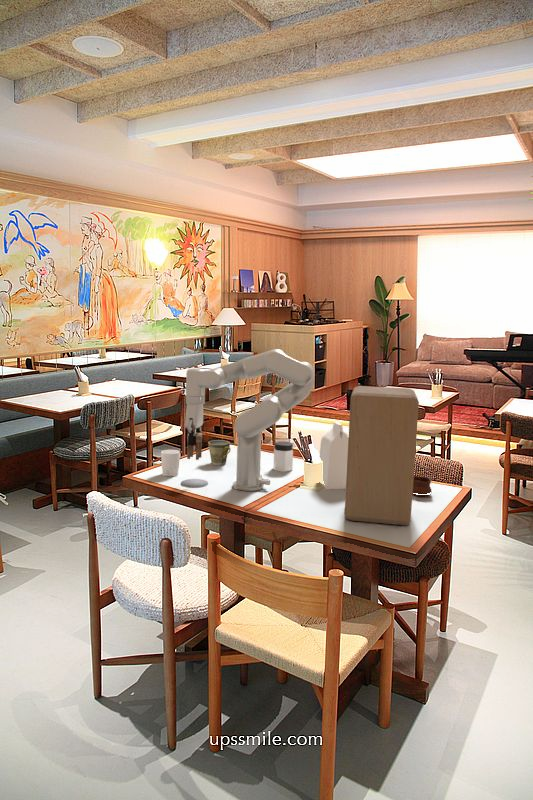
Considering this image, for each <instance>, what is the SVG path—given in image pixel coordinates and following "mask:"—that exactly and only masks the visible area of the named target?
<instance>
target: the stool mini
mask: <svg viewBox="0 0 533 800" xmlns="http://www.w3.org/2000/svg"><path fill="white" fill-rule="evenodd" d="M186 436H187V438H186V439H187V445H186V446H187V449H186V450H187V452H186V455H187V456H186V458H187V460H190V459H191V458H193V457H194V446H191V445H188V433H187V435H186ZM195 436H196V445H195V460H196V461H199V460H200V458H202V455H203V454H202V447H203V443H202V442H203V433H202V432H201V433H197V432H196V434H195Z"/></svg>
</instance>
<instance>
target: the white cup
mask: <svg viewBox="0 0 533 800" xmlns="http://www.w3.org/2000/svg"><path fill="white" fill-rule="evenodd" d="M160 454H161V455H160V456H161V457H160V458H161V469H162V471H161V472H162V476H164V477H176V476H178V475H179V469H180V457H181V456H180V455H181V452H180V450H177V449H165V450H164V449H163V450H161V451H160Z"/></svg>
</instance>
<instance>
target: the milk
mask: <svg viewBox="0 0 533 800" xmlns="http://www.w3.org/2000/svg"><path fill="white" fill-rule="evenodd" d="M343 428H344V427H343V424H342V423H340V422H339V421H338V422H337V421H334V422H333V425H332V428H330V430H329V431H327V432H326V433H325V434H324V435H323V436H322V438H321V439H320V447H319V449H320V450H319V457H320V458H321V460H322V461H323V481H324V484H325V485H324V484H323V485H321V486H322V487H323V488H324V489H325V490H338V489H339V490H343V489H344V490H346V477H347V458H348V438H349V433H347V432H346V431H345V430H344V429H343Z"/></svg>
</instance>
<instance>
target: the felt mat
mask: <svg viewBox="0 0 533 800" xmlns="http://www.w3.org/2000/svg"><path fill="white" fill-rule="evenodd" d="M208 484H209V482H208V480H205V479H201V478H190V479H184V480H182V481H181V482H180V485H181V486H182V487H185V488H203V487H207V485H208Z"/></svg>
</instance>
